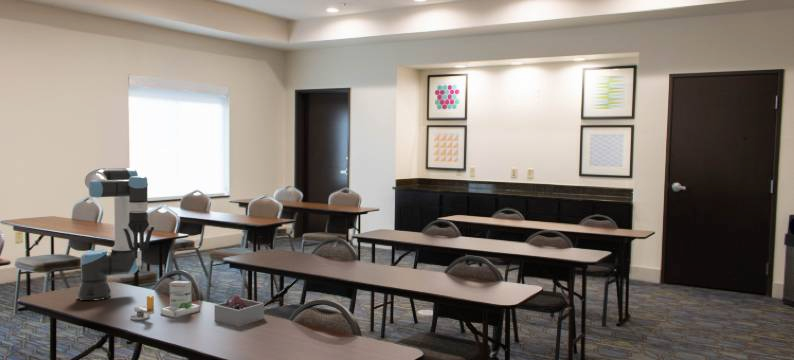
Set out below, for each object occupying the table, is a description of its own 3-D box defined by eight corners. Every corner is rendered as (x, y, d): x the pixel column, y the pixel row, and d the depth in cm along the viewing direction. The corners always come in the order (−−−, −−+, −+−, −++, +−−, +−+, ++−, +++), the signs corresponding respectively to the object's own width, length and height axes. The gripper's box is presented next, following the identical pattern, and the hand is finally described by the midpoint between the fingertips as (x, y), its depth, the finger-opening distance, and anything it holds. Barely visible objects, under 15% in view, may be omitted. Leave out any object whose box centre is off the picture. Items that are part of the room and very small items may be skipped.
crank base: (126, 318, 273) (126, 311, 272) (142, 314, 279) (142, 307, 279) (137, 321, 268) (137, 314, 268) (153, 317, 275) (153, 310, 275)
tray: (160, 314, 280) (160, 308, 280) (186, 307, 292) (186, 302, 292) (174, 317, 275) (174, 312, 275) (200, 310, 287) (200, 305, 286)
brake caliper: (236, 319, 266) (225, 295, 269) (222, 330, 271) (212, 306, 275) (256, 313, 275) (245, 290, 279) (243, 324, 281) (232, 301, 284)
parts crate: (214, 320, 272) (214, 305, 271) (240, 312, 284) (240, 298, 284) (238, 326, 264) (238, 310, 263) (263, 318, 276) (263, 303, 276)
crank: (132, 310, 273) (131, 293, 273) (142, 308, 277) (142, 291, 277) (146, 315, 266) (146, 298, 265) (157, 313, 270) (157, 296, 269)
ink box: (192, 306, 285) (192, 280, 285) (187, 308, 280) (187, 283, 280) (174, 305, 286) (174, 280, 285) (169, 308, 281) (169, 282, 281)
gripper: (124, 213, 261) (125, 268, 263) (156, 211, 269) (156, 265, 270) (120, 211, 267) (120, 265, 269) (151, 210, 275) (151, 262, 276)
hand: (138, 265), depth 270 cm, fingers closed
